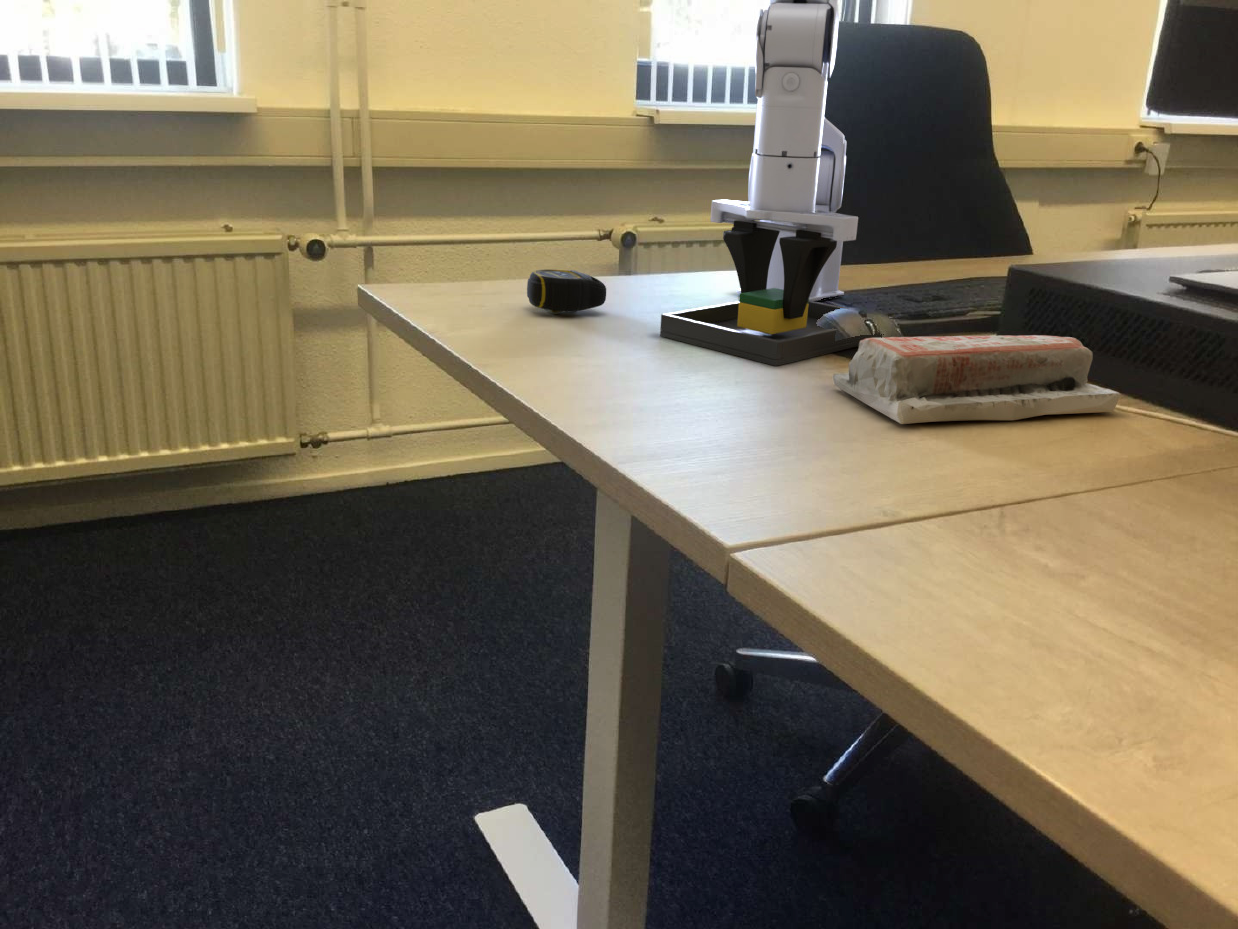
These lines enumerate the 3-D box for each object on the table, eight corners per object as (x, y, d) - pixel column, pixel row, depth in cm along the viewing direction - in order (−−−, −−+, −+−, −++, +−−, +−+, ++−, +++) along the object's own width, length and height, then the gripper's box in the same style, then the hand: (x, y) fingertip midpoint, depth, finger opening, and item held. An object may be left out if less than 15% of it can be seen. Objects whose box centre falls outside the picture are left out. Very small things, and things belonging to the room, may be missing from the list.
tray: (777, 314, 105) (779, 294, 104) (891, 338, 96) (893, 317, 96) (659, 335, 94) (660, 314, 93) (775, 366, 85) (778, 342, 84)
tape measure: (608, 315, 101) (610, 277, 100) (544, 320, 98) (545, 280, 97) (577, 302, 107) (578, 266, 106) (516, 306, 104) (516, 268, 103)
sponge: (771, 319, 97) (774, 287, 96) (806, 327, 94) (809, 294, 93) (736, 326, 94) (739, 293, 93) (772, 334, 91) (775, 300, 90)
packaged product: (909, 358, 68) (836, 326, 77) (900, 429, 70) (830, 389, 79) (1132, 349, 73) (1040, 319, 82) (1119, 415, 75) (1030, 379, 84)
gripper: (692, 150, 91) (683, 304, 96) (829, 162, 81) (811, 333, 86) (743, 149, 96) (732, 296, 100) (879, 161, 86) (860, 322, 91)
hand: (772, 312), depth 94 cm, fingers closed on sponge, 4 cm apart
